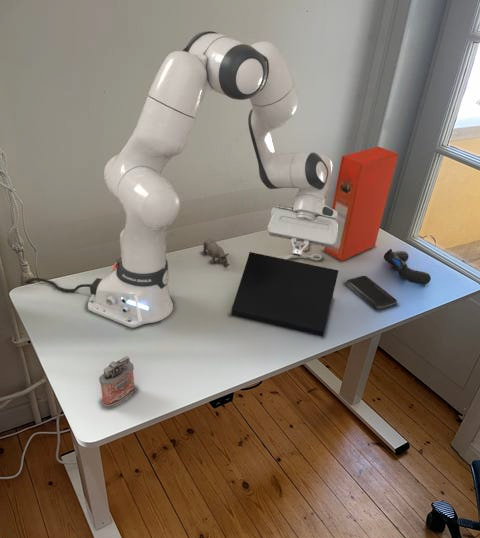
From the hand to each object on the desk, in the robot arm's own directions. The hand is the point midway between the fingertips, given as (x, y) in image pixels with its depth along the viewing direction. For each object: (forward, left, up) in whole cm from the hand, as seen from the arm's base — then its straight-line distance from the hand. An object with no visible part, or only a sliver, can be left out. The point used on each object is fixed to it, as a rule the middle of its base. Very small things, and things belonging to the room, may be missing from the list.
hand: (296, 255), depth 145 cm
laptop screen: (0, -14, -3) cm, 15 cm away
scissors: (-3, +15, -9) cm, 18 cm away
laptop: (0, -13, -9) cm, 16 cm away
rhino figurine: (-25, +3, -10) cm, 27 cm away
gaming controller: (+32, +19, -10) cm, 39 cm away
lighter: (-27, -59, -10) cm, 66 cm away
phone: (+23, +3, -9) cm, 25 cm away
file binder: (+14, +28, -10) cm, 33 cm away
